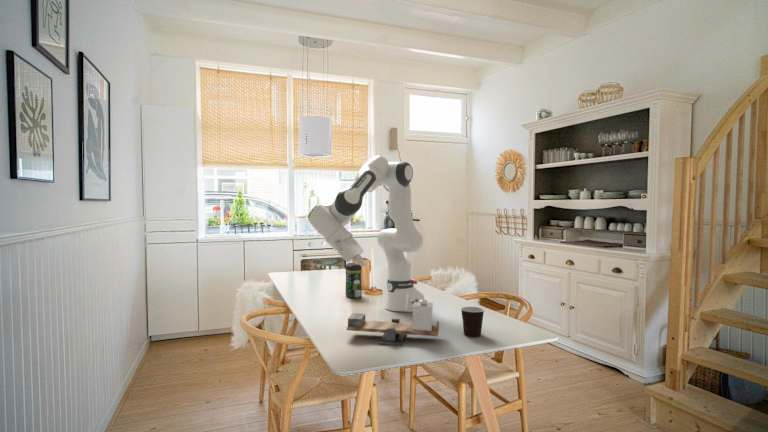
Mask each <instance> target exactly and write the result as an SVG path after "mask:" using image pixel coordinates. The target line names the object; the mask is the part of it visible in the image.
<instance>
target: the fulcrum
mask: <svg viewBox="0 0 768 432" xmlns="http://www.w3.org/2000/svg"><path fill="white" fill-rule="evenodd" d="M391 322H396V323H401V322H400V318H391ZM405 336H406V334H395V328H387V333H382V336H381V338H380V340H379V345H382V346H384V345H385V346H399V347H401V346H402V345H403V343H404V339H405Z"/></svg>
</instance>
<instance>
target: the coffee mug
mask: <svg viewBox="0 0 768 432" xmlns="http://www.w3.org/2000/svg"><path fill="white" fill-rule="evenodd" d="M484 312H485V309H483V308H482V307H479V306H478V307H477V306H463V307H461V318H462V329H463V335H464V337H468V338H479V337H481V335H482V328H483V319H484Z"/></svg>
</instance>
